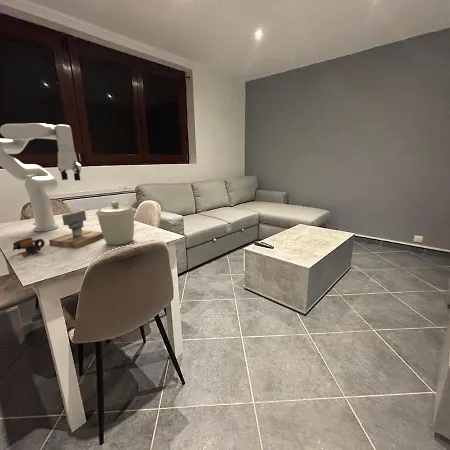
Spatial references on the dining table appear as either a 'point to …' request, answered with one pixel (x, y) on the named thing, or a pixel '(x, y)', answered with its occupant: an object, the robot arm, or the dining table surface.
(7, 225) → the dining table surface
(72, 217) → the cap
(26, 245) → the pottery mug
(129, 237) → the canister
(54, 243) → the base
